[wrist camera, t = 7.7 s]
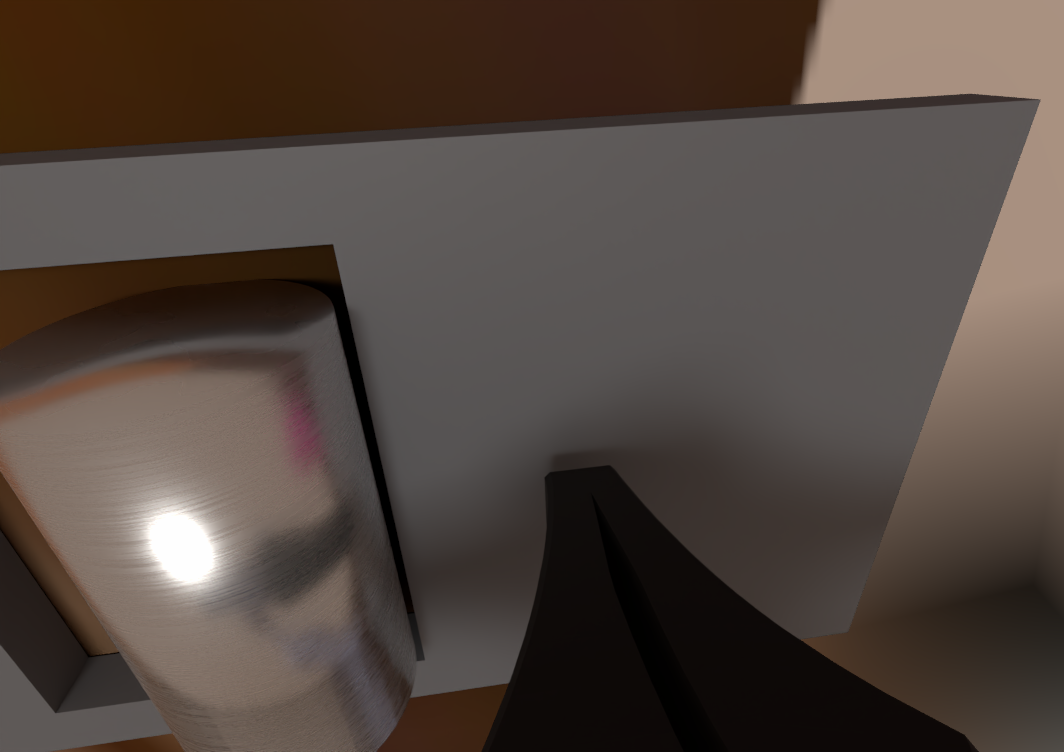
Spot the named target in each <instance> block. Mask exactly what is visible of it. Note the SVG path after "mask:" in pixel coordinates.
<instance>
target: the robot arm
mask: <svg viewBox="0 0 1064 752" xmlns="http://www.w3.org/2000/svg"><path fill="white" fill-rule="evenodd" d="M544 479H545V501H546V523H547V530H546V539H545V547H544V554H543V560H542V565H541V570H540V576H539V581H538V586H537V591H536V595H535V599H534V603H533V607H532V611H531V615H530V619H529V622H528V626H527V629H526V633H525V636H524V640H523V643H522V646H521V649H520V652H519V655H518V658H517V661H516V664H515V667H514V670H513V673H512V676H511V679H510V682H509V685H508V687H507V690H506V693H505V695H504V698H503V700H502V703H501V705H500V708H499V710H498V713H497V715H496V718H495V720H494V723H493V725H492V728H491V730H490V733H489V735H488V738H487V740H486V743H485V745H484V747H483V749H482V752H979V751H978V750H977V749H976V748H975V747H974V746H973V745H972V743H971V742H970V741H969V740H968V739H967V737H966V736H965V735H964V734H962V733H960V732H958V731H956V730H954V729H952V728H950V727H949V726H947V725H945V724H943V723H941V722H939V721H937V720H935V719H933V718H932V717H930V716H928V715H926V714H924V713H922V712H920V711H918V710H916V709H915V708H913V707H911V706H909V705H907V704H905V703H903V702H901V701H899V700H897V699H896V698H894V697H892V696H890V695H888V694H886V693H885V692H883V691H881V690H879V689H878V688H876V687H874V686H873V685H871V684H869V683H868V682H866V681H864V680H863V679H861V678H859V677H858V676H856V675H854V674H852V673H851V672H849V671H847V670H846V669H844V668H842V667H841V666H839V665H837V664H836V663H834V662H833V661H831V660H830V659H828V658H827V657H825V656H824V655H822V654H821V653H819V652H818V651H816V650H815V649H813V648H812V647H810V646H809V645H807V644H806V643H804V642H803V641H801V640H800V639H798V638H797V637H795V636H794V635H792V634H791V633H789V632H788V631H786V630H785V629H783V628H782V627H781V626H779V625H778V624H776V623H775V622H774V621H772V620H771V619H770V618H768V617H767V616H766V615H764V614H763V613H762V612H760V611H759V610H758V609H756V608H755V607H754V606H753V605H751V604H750V603H749V602H748V601H746V600H745V599H744V598H743V597H741V596H740V595H739V594H737V593H736V592H735V591H734V590H733V589H731V588H730V587H729V586H728V585H727V584H725V583H724V582H723V581H722V580H721V579H720V578H718V577H717V576H716V575H715V574H714V573H713V572H712V571H710V570H709V569H708V568H707V567H706V566H705V565H704V564H703V563H702V562H701V561H700V560H699V559H697V558H696V557H695V556H694V555H693V554H692V553H691V552H690V551H689V550H688V549H687V548H686V547H685V546H684V545H683V544H682V543H681V542H680V541H679V540H678V539H677V538H676V537H675V536H674V535H673V534H672V533H671V532H670V531H669V530H668V529H667V528H666V527H665V526H664V525H663V524H662V523H661V522H660V521H659V520H658V519H657V518H656V517H655V516H654V514H653V513H652V512H651V511H650V510H649V509H648V508H647V507H646V506H645V505H644V503H643V502H642V501H641V500H640V499H639V498H638V497H637V495H636V494H635V493H634V492H633V491H632V490H631V488H630V487H629V486H628V485H627V484H626V482H625V481H624V480H623V479H622V478H621V476H620V475H619V474H618V473H617V471H616V470H615V469H614V468H613V467H611V466H610V465H606V466H597V467H589V468H580V469H572V470H564V471H555V472H550V473H548V474H547V475H546V476H545V477H544Z"/></svg>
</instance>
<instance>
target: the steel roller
mask: <svg viewBox="0 0 1064 752" xmlns="http://www.w3.org/2000/svg"><path fill="white" fill-rule="evenodd" d="M0 471H1V473H2V474H3V476H4V477H5V479H6V480H7V482H8V483H9V485H10V486H11V488H12V489H13V491H14V492H15V494H16V496H17V497H18V499H19V500H20V502H21V503H22V505H23V506H24V508H25V509H26V511H27V512H28V514H29V515H30V517H31V518H32V520H33V521H34V523H35V524H36V526H37V527H38V529H39V531H40V532H41V534H42V535H43V537H44V538H45V540H46V541H47V543H48V544H49V546H50V547H51V549H52V550H53V552H54V553H55V555H56V556H57V558H58V559H59V561H60V562H61V564H62V566H63V567H64V569H65V570H66V572H67V573H68V575H69V576H70V578H71V579H72V581H73V582H74V584H75V585H76V587H77V588H78V590H79V591H80V593H81V594H82V596H83V597H84V599H85V601H86V602H87V604H88V605H89V607H90V608H91V610H92V611H93V613H94V614H95V616H96V617H97V619H98V620H99V622H100V623H101V625H102V626H103V628H104V629H105V631H106V632H107V634H108V636H109V637H110V639H111V640H112V642H113V643H114V645H115V646H116V648H117V649H118V651H119V652H120V654H121V655H122V657H123V658H124V660H125V661H126V663H127V664H128V666H129V667H130V669H131V671H132V672H133V674H134V675H135V677H136V678H137V680H138V681H139V683H140V684H141V686H142V687H143V689H144V690H145V692H146V693H147V695H148V696H149V698H150V699H151V701H152V702H153V704H154V706H155V707H156V709H157V710H158V712H159V713H160V715H161V716H162V718H163V719H164V721H165V722H166V724H167V725H168V727H169V728H170V730H171V731H172V733H173V734H174V736H175V737H176V739H177V741H178V742H179V744H180V745H181V747H182V748H183V750H184V751H185V752H376V751H377V750H378V749H379V748H380V746H381V745H382V744H383V743H384V742H385V741H386V739H387V738H388V737H389V735H390V734H391V732H392V731H393V730H394V728H395V727H396V725H397V724H398V722H399V720H400V718H401V716H402V714H403V713H404V711H405V709H406V706H407V704H408V701H409V699H410V696H411V693H412V689H413V686H414V682H415V675H416V650H415V644H414V640H413V635H412V631H411V627H410V623H409V619H408V615H407V610H406V606H405V602H404V598H403V594H402V590H401V585H400V581H399V577H398V573H397V569H396V564H395V560H394V556H393V552H392V548H391V544H390V539H389V535H388V531H387V527H386V523H385V519H384V514H383V510H382V506H381V502H380V498H379V494H378V489H377V485H376V481H375V477H374V473H373V468H372V464H371V460H370V456H369V452H368V448H367V443H366V439H365V435H364V431H363V427H362V423H361V418H360V414H359V410H358V406H357V402H356V398H355V393H354V389H353V385H352V381H351V377H350V373H349V368H348V364H347V360H346V356H345V352H344V347H343V343H342V339H341V335H340V331H339V327H338V322H337V318H336V314H335V310H334V306H333V304H332V302H331V300H330V299H329V298H328V297H327V296H326V295H325V294H324V293H322V292H321V291H319V290H317V289H315V288H312V287H310V286H306V285H303V284H299V283H294V282H288V281H279V280H263V279H256V280H245V281H234V282H222V283H211V284H199V285H188V286H180V287H174V288H168V289H164V290H159V291H154V292H149V293H145V294H141V295H137V296H133V297H129V298H125V299H122V300H118V301H115V302H111V303H108V304H105V305H101V306H98V307H95V308H92V309H89V310H86V311H83V312H80V313H78V314H75V315H72V316H69V317H67V318H64V319H62V320H59V321H57V322H54V323H52V324H49V325H47V326H45V327H43V328H41V329H38V330H36V331H34V332H32V333H30V334H28V335H26V336H24V337H22V338H20V339H18V340H16V341H14V342H13V343H11V344H9V345H8V346H6V347H4V348H3V349H1V350H0Z"/></svg>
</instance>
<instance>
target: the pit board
mask: <svg viewBox="0 0 1064 752" xmlns="http://www.w3.org/2000/svg"><path fill="white" fill-rule="evenodd" d="M1039 103H1040V100H1039V99H1026V98H1015V97H1003V96H990V95H979V94H960V95H944V96H928V97H911V98H895V99H879V100H865V101H864V100H863V101H848V102H831V103H814V104H798V105H782V106H766V107H750V108H734V109H717V110H701V111H685V112H669V113H653V114H636V115H620V116H604V117H588V118H572V119H556V120H539V121H523V122H507V123H491V124H475V125H459V126H442V127H426V128H410V129H394V130H378V131H362V132H345V133H329V134H313V135H297V136H281V137H265V138H248V139H232V140H216V141H200V142H184V143H167V144H151V145H135V146H119V147H103V148H87V149H70V150H54V151H38V152H22V153H6V154H0V270H9V269H22V268H34V267H47V266H60V265H72V264H85V263H98V262H111V261H123V260H136V259H149V258H161V257H174V256H187V255H200V254H212V253H225V252H238V251H250V250H263V249H276V248H289V247H301V246H314V245H327V244H333V245H334V250H335V254H336V259H337V263H338V268H339V272H340V277H341V281H342V286H343V290H344V295H345V299H346V304H347V308H348V313H349V317H350V322H351V326H352V331H353V335H354V340H355V345H356V349H357V354H358V358H359V363H360V367H361V372H362V376H363V381H364V385H365V390H366V394H367V399H368V403H369V408H370V412H371V417H372V421H373V426H374V430H375V435H376V440H377V444H378V449H379V453H380V458H381V462H382V467H383V471H384V476H385V480H386V485H387V489H388V494H389V498H390V503H391V507H392V512H393V516H394V521H395V525H396V530H397V535H398V539H399V544H400V548H401V553H402V557H403V562H404V566H405V571H406V575H407V580H408V584H409V589H410V593H411V598H412V602H413V607H414V611H415V613H411V614H407V615H408V619H409V623H410V627H411V631H412V635H413V640H414V644H415V650H416V675H415V682H414V686H413V689H412V693H411V696H410V698H411V697H418V696H425V695H431V694H438V693H445V692H451V691H458V690H465V689H471V688H478V687H485V686H492V685H498V684H505V683H509V682H510V679H511V676H512V673H513V670H514V667H515V664H516V661H517V658H518V655H519V652H520V649H521V646H522V643H523V640H524V636H525V633H526V629H527V626H528V622H529V619H530V615H531V611H532V607H533V603H534V599H535V595H536V591H537V586H538V581H539V576H540V570H541V565H542V560H543V554H544V547H545V539H546V530H547V523H546V501H545V479H544V477H545V476H546V475H547V474H548V473H550V472H555V471H564V470H572V469H580V468H589V467H597V466H606V465H610V466H611V467H613V468H614V469H615V470H616V471H617V473H618V474H619V475H620V476H621V478H622V479H623V480H624V481H625V482H626V484H627V485H628V486H629V487H630V488H631V490H632V491H633V492H634V493H635V494H636V495H637V497H638V498H639V499H640V500H641V501H642V502H643V503H644V505H645V506H646V507H647V508H648V509H649V510H650V511H651V512H652V513H653V514H654V516H655V517H656V518H657V519H658V520H659V521H660V522H661V523H662V524H663V525H664V526H665V527H666V528H667V529H668V530H669V531H670V532H671V533H672V534H673V535H674V536H675V537H676V538H677V539H678V540H679V541H680V542H681V543H682V544H683V545H684V546H685V547H686V548H687V549H688V550H689V551H690V552H691V553H692V554H693V555H694V556H695V557H696V558H697V559H699V560H700V561H701V562H702V563H703V564H704V565H705V566H706V567H707V568H708V569H709V570H710V571H712V572H713V573H714V574H715V575H716V576H717V577H718V578H720V579H721V580H722V581H723V582H724V583H725V584H727V585H728V586H729V587H730V588H731V589H733V590H734V591H735V592H736V593H737V594H739V595H740V596H741V597H743V598H744V599H745V600H746V601H748V602H749V603H750V604H751V605H753V606H754V607H755V608H756V609H758V610H759V611H760V612H762V613H763V614H764V615H766V616H767V617H768V618H770V619H771V620H772V621H774V622H775V623H776V624H778V625H779V626H781V627H782V628H783V629H785V630H786V631H788V632H789V633H791V634H792V635H794V636H795V637H797V638H798V639H806V638H813V637H820V636H826V635H833V634H840V633H846V632H848V631H849V628H850V625H851V622H852V620H853V617H854V614H855V611H856V609H857V606H858V603H859V600H860V598H861V595H862V592H863V589H864V586H865V584H866V581H867V578H868V575H869V573H870V570H871V567H872V564H873V562H874V559H875V556H876V553H877V551H878V548H879V545H880V542H881V540H882V537H883V534H884V531H885V528H886V526H887V523H888V520H889V518H890V514H891V512H892V509H893V506H894V504H895V501H896V498H897V495H898V493H899V490H900V487H901V484H902V482H903V479H904V476H905V473H906V470H907V468H908V465H909V462H910V459H911V457H912V454H913V451H914V448H915V446H916V443H917V440H918V437H919V434H920V432H921V429H922V426H923V424H924V421H925V418H926V415H927V412H928V410H929V407H930V404H931V401H932V399H933V396H934V393H935V390H936V388H937V385H938V382H939V379H940V377H941V374H942V371H943V368H944V365H945V362H946V360H947V357H948V354H949V352H950V349H951V346H952V343H953V341H954V337H955V335H956V332H957V330H958V327H959V324H960V321H961V319H962V316H963V313H964V310H965V307H966V305H967V302H968V299H969V296H970V294H971V291H972V288H973V285H974V282H975V280H976V277H977V274H978V272H979V269H980V266H981V263H982V260H983V257H984V255H985V252H986V249H987V247H988V244H989V241H990V238H991V235H992V233H993V230H994V227H995V225H996V222H997V219H998V216H999V213H1000V211H1001V208H1002V205H1003V202H1004V199H1005V197H1006V194H1007V191H1008V188H1009V186H1010V183H1011V180H1012V178H1013V175H1014V172H1015V169H1016V166H1017V164H1018V161H1019V158H1020V155H1021V153H1022V150H1023V147H1024V144H1025V142H1026V139H1027V136H1028V133H1029V131H1030V127H1031V125H1032V122H1033V119H1034V117H1035V114H1036V111H1037V108H1038V105H1039ZM170 733H172V731H171V730H170V728H169V727H168V725H167V724H166V722H165V721H164V719H163V718H162V716H161V715H160V713H159V712H158V710H157V709H156V707H155V706H154V704H153V702H152V701H151V699H150V698H149V696H148V695H147V693H146V692H145V690H144V689H143V687H142V686H141V684H140V683H139V681H138V680H137V678H136V677H135V675H134V674H133V672H132V671H131V669H130V667H129V666H128V664H127V663H126V661H125V660H124V658H123V657H122V655H121V654H120V653H118V654H110V655H103V656H96V657H88V656H87V654H86V653H85V652H84V650H83V649H82V647H81V646H80V644H79V643H78V641H77V640H76V639H75V637H74V636H73V634H72V633H71V631H70V630H69V628H68V627H67V626H66V624H65V623H64V621H63V620H62V618H61V617H60V616H59V614H58V613H57V611H56V610H55V608H54V607H53V605H52V604H51V603H50V601H49V600H48V598H47V597H46V595H45V594H44V592H43V591H42V590H41V588H40V587H39V585H38V584H37V582H36V581H35V580H34V578H33V577H32V575H31V574H30V572H29V571H28V569H27V568H26V567H25V565H24V564H23V562H22V561H21V559H20V558H19V556H18V555H17V554H16V552H15V551H14V549H13V548H12V546H11V545H10V543H9V542H8V541H7V539H6V538H5V536H4V535H3V533H2V532H1V531H0V752H49V751H56V750H63V749H70V748H76V747H83V746H90V745H96V744H103V743H110V742H116V741H123V740H130V739H137V738H143V737H150V736H157V735H163V734H170Z"/></svg>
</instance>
